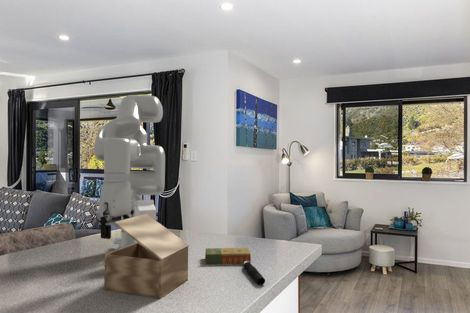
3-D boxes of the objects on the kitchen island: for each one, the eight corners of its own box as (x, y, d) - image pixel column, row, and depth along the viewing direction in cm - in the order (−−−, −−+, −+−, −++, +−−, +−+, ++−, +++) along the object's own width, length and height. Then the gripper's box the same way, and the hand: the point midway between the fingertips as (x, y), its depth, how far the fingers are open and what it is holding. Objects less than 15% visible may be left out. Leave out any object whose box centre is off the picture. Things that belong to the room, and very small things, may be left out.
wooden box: (104, 290, 104) (104, 254, 104) (137, 273, 119) (137, 242, 119) (160, 298, 98) (161, 261, 98) (187, 280, 113) (188, 247, 113)
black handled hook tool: (239, 265, 130) (239, 257, 130) (250, 265, 130) (250, 256, 130) (256, 287, 109) (256, 277, 109) (269, 286, 109) (269, 276, 109)
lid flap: (113, 223, 103) (114, 222, 103) (145, 215, 118) (146, 213, 118) (161, 260, 98) (162, 258, 98) (188, 246, 113) (189, 245, 113)
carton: (250, 265, 131) (250, 253, 131) (205, 265, 130) (205, 253, 130) (248, 258, 139) (248, 247, 139) (205, 258, 138) (205, 247, 138)
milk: (155, 263, 131) (156, 200, 131) (138, 265, 128) (139, 201, 128) (150, 258, 136) (151, 198, 136) (133, 260, 133) (134, 199, 133)
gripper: (124, 177, 122) (123, 229, 122) (86, 179, 105) (86, 240, 105) (143, 177, 119) (143, 230, 119) (108, 180, 103) (107, 242, 103)
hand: (116, 235), depth 112 cm, fingers open, 9 cm apart
